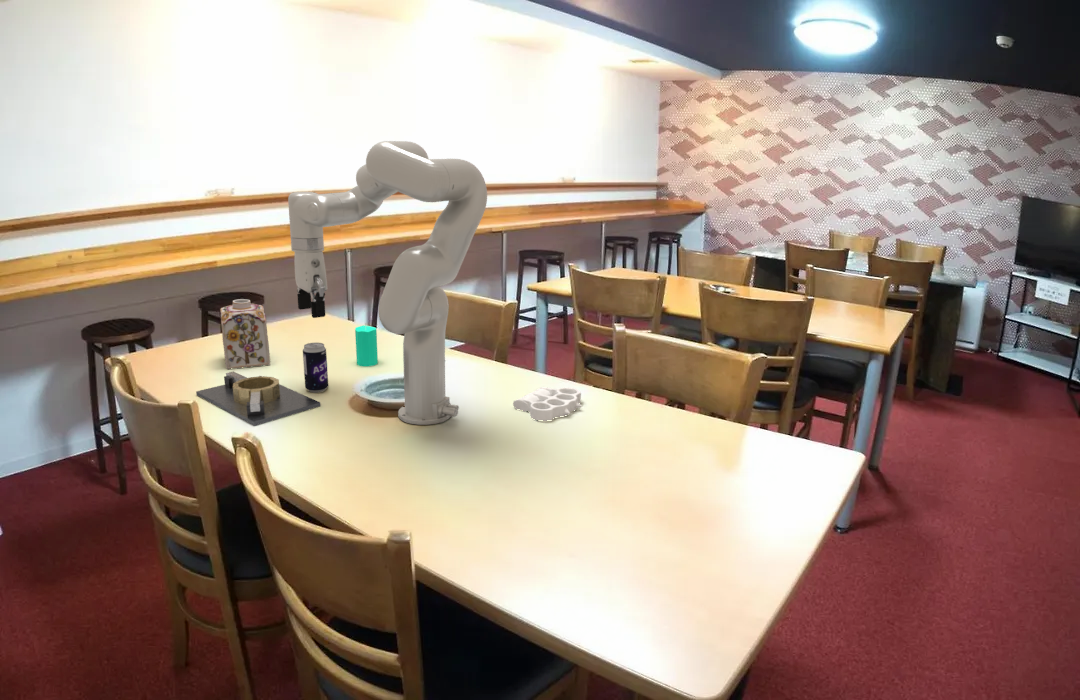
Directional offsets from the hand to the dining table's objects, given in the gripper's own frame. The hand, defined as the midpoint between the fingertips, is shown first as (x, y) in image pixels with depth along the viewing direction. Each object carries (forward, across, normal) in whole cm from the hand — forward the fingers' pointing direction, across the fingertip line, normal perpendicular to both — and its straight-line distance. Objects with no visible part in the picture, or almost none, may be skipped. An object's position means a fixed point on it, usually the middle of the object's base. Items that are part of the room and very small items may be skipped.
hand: (311, 312), depth 175 cm
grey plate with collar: (+20, 0, +15) cm, 25 cm away
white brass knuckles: (+21, -43, -43) cm, 64 cm away
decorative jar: (+21, +33, +8) cm, 40 cm away
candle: (+21, +14, -20) cm, 32 cm away
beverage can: (+21, 0, 0) cm, 21 cm away
